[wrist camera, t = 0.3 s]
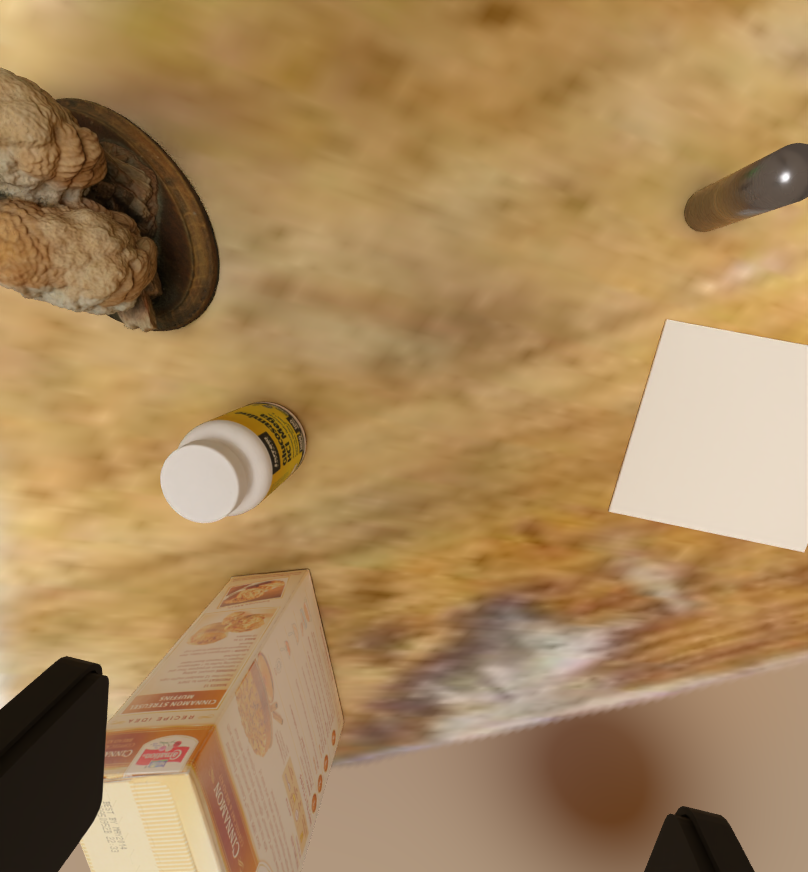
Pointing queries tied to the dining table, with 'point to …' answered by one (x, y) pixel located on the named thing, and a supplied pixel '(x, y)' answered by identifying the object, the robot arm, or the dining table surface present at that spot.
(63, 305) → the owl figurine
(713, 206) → the post
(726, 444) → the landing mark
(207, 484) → the pill bottle
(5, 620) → the dining table surface
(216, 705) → the coffeecake box
